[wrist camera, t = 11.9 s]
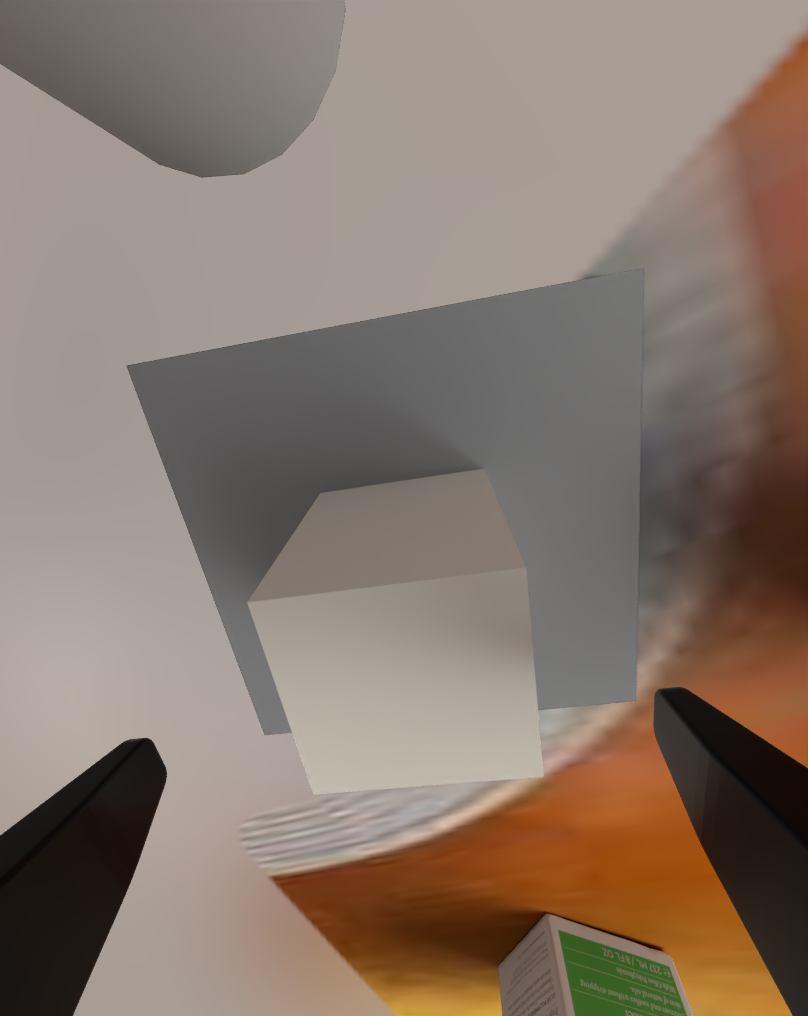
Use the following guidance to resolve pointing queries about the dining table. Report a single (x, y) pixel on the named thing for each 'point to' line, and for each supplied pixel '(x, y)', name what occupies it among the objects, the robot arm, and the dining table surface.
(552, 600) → the base board
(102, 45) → the can
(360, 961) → the dining table surface
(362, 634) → the block
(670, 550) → the dining table surface
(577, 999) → the skincare box
